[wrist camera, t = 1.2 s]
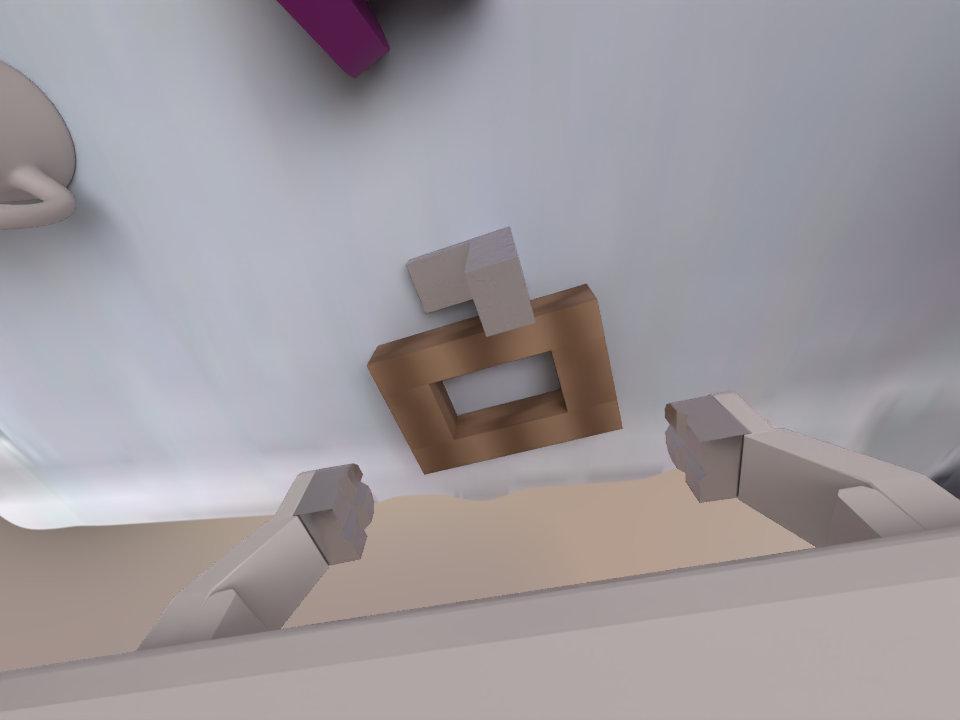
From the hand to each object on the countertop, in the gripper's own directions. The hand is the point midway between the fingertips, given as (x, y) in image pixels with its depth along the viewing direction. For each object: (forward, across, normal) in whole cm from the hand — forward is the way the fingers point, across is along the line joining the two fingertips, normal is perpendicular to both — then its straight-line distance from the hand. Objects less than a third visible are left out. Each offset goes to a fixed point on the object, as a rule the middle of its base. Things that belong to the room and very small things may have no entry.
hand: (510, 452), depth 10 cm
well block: (+22, +1, +10) cm, 25 cm away
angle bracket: (+22, +2, 0) cm, 22 cm away
